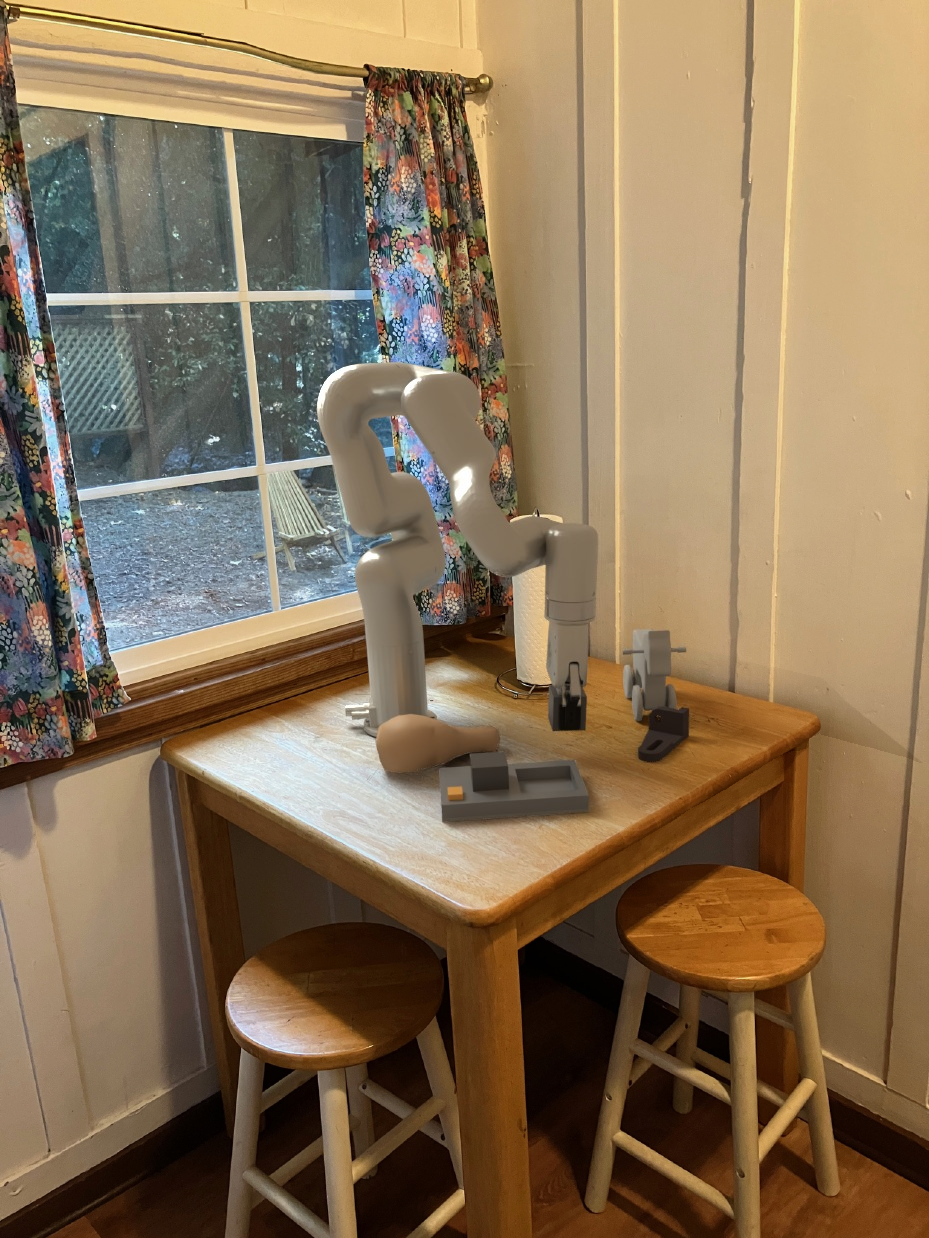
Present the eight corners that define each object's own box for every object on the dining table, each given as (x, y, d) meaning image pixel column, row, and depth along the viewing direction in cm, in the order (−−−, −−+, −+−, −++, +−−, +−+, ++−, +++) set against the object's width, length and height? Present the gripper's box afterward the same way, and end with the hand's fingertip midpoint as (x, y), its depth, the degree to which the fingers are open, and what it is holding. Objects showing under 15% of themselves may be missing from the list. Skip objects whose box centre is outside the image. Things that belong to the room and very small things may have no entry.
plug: (552, 731, 145) (553, 694, 143) (548, 718, 150) (549, 682, 148) (585, 730, 145) (587, 693, 143) (580, 717, 150) (581, 681, 148)
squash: (363, 768, 149) (363, 710, 149) (479, 756, 158) (478, 702, 158) (388, 782, 140) (388, 720, 139) (510, 769, 148) (510, 711, 148)
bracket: (621, 758, 148) (621, 728, 147) (655, 731, 158) (655, 702, 157) (656, 765, 145) (657, 734, 144) (688, 737, 155) (689, 708, 153)
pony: (692, 731, 156) (693, 632, 152) (628, 733, 157) (628, 634, 152) (669, 689, 176) (670, 600, 171) (612, 691, 176) (612, 603, 172)
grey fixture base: (442, 821, 130) (439, 781, 129) (439, 783, 142) (437, 746, 140) (589, 812, 131) (588, 771, 129) (574, 774, 142) (574, 737, 141)
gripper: (537, 593, 150) (535, 701, 155) (552, 625, 134) (549, 746, 139) (585, 592, 150) (581, 700, 156) (606, 624, 134) (601, 744, 139)
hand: (566, 720), depth 147 cm, fingers closed on plug, 5 cm apart
